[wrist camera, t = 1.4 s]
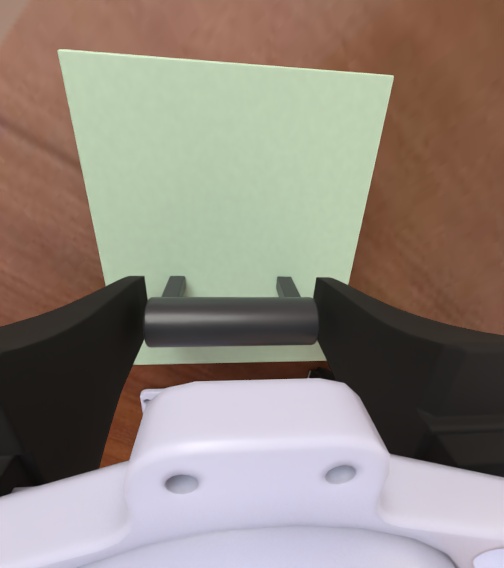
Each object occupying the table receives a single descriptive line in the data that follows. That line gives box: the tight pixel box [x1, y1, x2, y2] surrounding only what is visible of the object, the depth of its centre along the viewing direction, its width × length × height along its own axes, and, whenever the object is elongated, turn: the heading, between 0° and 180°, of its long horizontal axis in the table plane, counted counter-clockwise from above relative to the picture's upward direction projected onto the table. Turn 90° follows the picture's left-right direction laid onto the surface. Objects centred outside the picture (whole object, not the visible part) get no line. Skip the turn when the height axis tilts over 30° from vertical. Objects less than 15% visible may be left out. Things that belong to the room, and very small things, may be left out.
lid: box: [58, 49, 394, 365], centre depth 11 cm, size 13×12×5 cm
